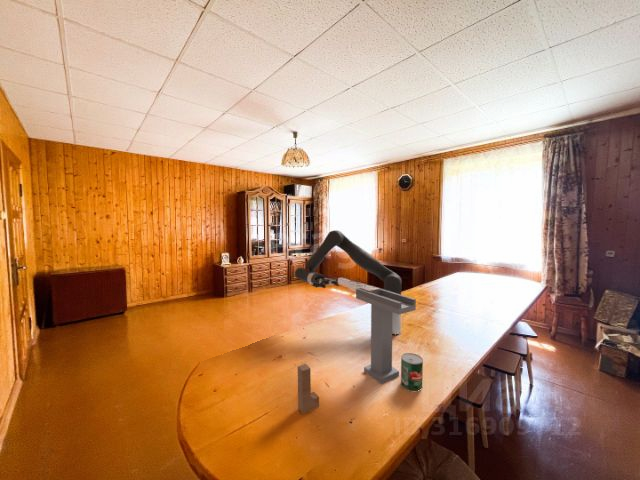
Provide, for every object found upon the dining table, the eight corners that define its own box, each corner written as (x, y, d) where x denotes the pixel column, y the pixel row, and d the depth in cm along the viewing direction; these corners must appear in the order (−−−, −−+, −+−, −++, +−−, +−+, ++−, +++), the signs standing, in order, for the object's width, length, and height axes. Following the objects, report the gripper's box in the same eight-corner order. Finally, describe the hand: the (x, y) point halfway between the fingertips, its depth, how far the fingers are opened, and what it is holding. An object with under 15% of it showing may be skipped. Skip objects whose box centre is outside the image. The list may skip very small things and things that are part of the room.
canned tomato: (405, 376, 107) (405, 350, 106) (425, 384, 102) (425, 357, 101) (397, 386, 100) (397, 358, 100) (418, 395, 95) (418, 365, 95)
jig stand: (355, 365, 116) (355, 288, 113) (372, 358, 121) (372, 285, 119) (396, 395, 95) (398, 303, 93) (415, 386, 100) (416, 298, 98)
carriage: (335, 284, 130) (335, 278, 130) (344, 282, 133) (344, 277, 133) (369, 296, 109) (369, 289, 108) (380, 294, 112) (380, 287, 112)
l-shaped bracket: (302, 414, 86) (302, 370, 85) (297, 408, 89) (297, 366, 88) (319, 406, 90) (318, 364, 89) (314, 401, 93) (313, 360, 91)
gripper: (305, 274, 148) (320, 279, 134) (326, 271, 155) (342, 276, 141) (305, 287, 148) (320, 294, 134) (326, 284, 156) (342, 290, 142)
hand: (331, 285), depth 138 cm, fingers open, 8 cm apart
